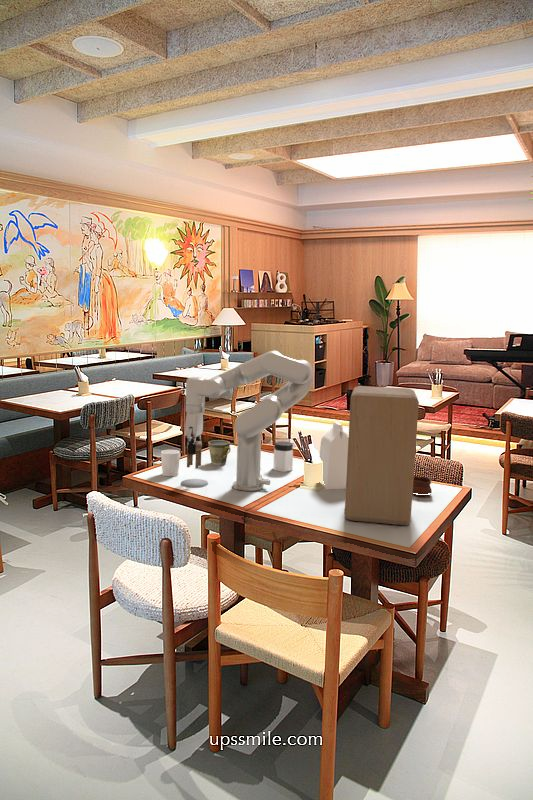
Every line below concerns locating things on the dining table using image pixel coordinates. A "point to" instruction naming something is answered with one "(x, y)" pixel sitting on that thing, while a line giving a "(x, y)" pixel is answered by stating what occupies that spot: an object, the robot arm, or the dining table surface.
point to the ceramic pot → (421, 486)
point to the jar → (283, 456)
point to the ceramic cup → (219, 451)
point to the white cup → (170, 462)
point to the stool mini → (198, 455)
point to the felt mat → (194, 483)
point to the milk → (334, 457)
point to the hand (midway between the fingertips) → (194, 451)
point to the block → (381, 454)
